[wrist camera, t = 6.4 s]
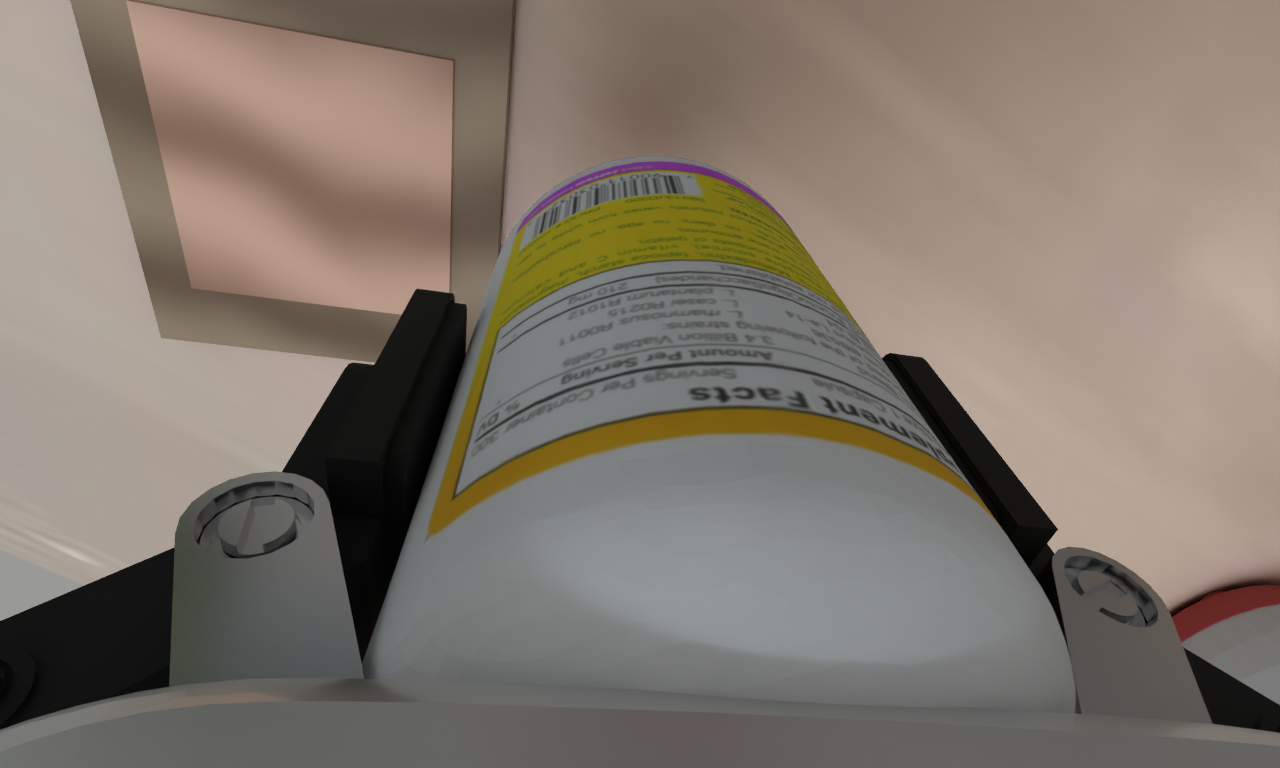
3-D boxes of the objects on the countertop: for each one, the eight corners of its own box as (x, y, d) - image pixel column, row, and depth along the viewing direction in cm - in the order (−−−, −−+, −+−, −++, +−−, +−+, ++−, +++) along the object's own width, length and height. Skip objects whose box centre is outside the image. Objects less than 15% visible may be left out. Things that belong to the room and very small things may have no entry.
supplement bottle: (688, 459, 16) (844, 1381, 6) (445, 351, 14) (-6, 1504, 4) (867, 250, 13) (1865, 1391, 3) (591, 69, 11) (400, 2175, 1)
